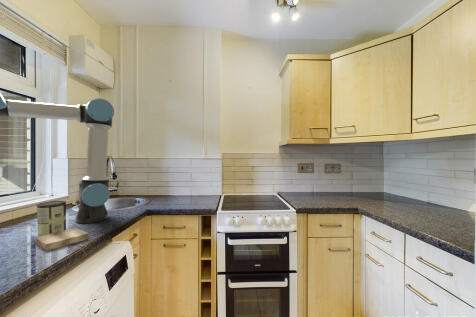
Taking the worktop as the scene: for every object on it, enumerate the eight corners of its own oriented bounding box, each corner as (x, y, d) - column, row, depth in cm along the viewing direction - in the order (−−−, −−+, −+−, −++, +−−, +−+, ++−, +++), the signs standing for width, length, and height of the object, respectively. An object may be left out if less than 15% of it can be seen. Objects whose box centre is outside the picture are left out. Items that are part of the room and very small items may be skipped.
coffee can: (50, 229, 104) (49, 200, 104) (71, 229, 105) (71, 200, 105) (30, 237, 94) (30, 205, 94) (54, 237, 94) (54, 205, 94)
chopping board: (75, 233, 99) (75, 227, 99) (88, 239, 92) (88, 233, 92) (35, 243, 88) (35, 237, 88) (45, 251, 81) (45, 244, 81)
